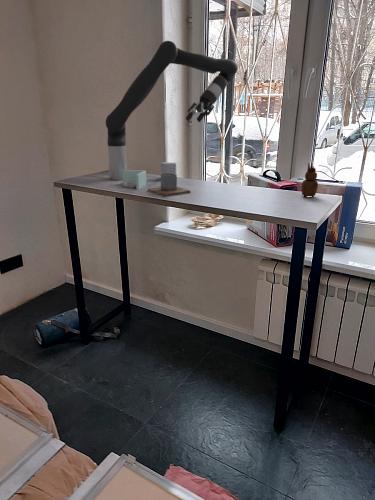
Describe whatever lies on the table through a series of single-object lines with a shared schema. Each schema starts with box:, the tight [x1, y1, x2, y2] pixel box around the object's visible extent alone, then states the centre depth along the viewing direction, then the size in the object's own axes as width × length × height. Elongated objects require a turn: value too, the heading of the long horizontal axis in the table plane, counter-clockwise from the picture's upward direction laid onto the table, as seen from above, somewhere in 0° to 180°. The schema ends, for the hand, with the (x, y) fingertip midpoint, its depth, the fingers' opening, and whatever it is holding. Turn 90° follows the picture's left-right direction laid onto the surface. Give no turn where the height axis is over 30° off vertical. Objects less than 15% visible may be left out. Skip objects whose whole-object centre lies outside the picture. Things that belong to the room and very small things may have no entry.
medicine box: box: [160, 161, 178, 176], centre depth 199 cm, size 8×4×9 cm, turn 84°
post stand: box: [147, 174, 191, 197], centre depth 169 cm, size 14×14×8 cm
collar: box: [160, 173, 178, 191], centre depth 169 cm, size 5×5×7 cm
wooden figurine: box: [300, 162, 319, 197], centre depth 163 cm, size 7×6×15 cm
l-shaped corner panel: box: [122, 169, 147, 191], centre depth 180 cm, size 12×12×8 cm
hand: (192, 120), depth 179 cm, fingers open, 8 cm apart
